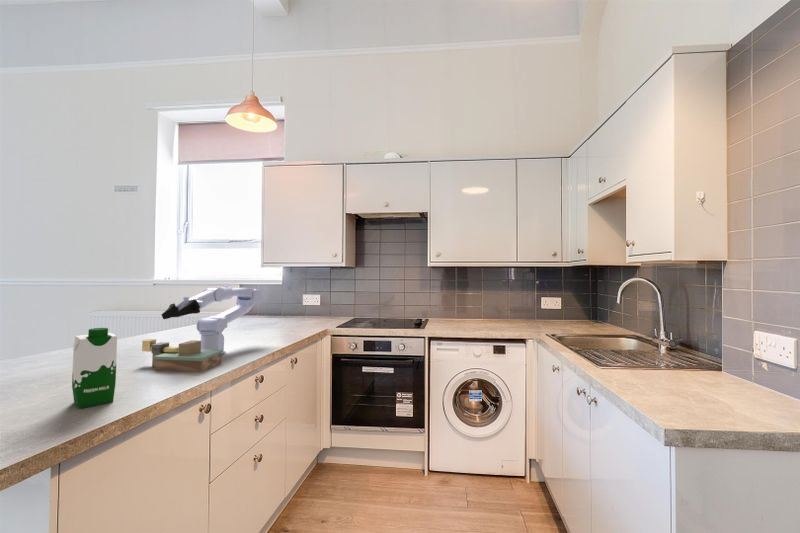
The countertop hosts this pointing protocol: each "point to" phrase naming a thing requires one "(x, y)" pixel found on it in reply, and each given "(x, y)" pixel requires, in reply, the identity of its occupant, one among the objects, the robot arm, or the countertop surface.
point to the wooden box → (181, 361)
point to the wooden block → (149, 342)
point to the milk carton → (94, 368)
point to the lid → (189, 352)
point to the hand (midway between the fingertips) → (171, 315)
